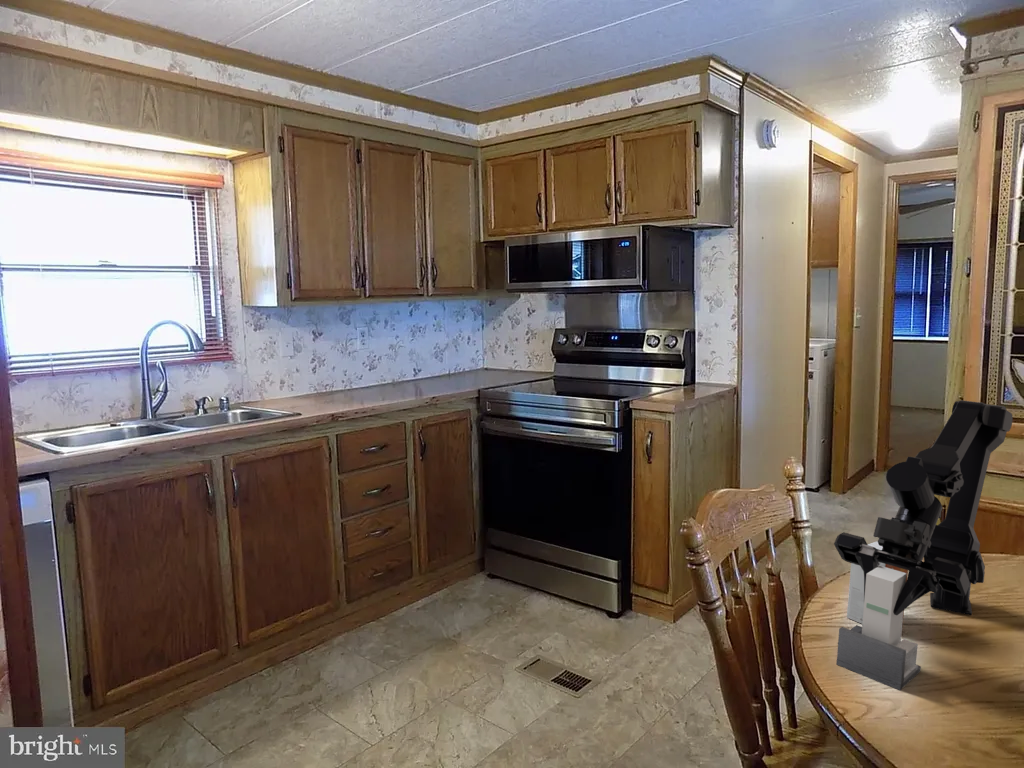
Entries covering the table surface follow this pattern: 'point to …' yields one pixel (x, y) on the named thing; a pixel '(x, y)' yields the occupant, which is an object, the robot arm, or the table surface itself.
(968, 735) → the table surface
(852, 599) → the small box
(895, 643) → the block
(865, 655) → the gray open holder
